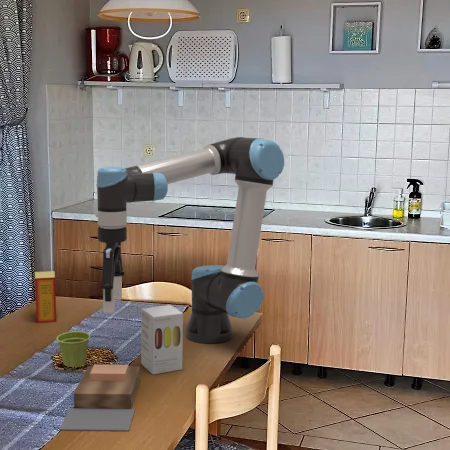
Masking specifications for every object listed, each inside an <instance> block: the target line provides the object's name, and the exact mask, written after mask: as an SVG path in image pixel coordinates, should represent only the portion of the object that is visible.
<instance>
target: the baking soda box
mask: <svg viewBox="0 0 450 450" xmlns="http://www.w3.org/2000/svg"><path fill="white" fill-rule="evenodd" d="M55 273H56V272H55V270H47V271H35V272H34V286H35V288H34V289H35V291H34V292H35V309H36V311H35V313H36V314H35V315H36V324H44V323H45V324H46V323H57V301H56V300H57V299H56V297H57V296H56V293H57V292H56V274H55Z"/></svg>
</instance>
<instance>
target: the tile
mask: <svg viewBox="0 0 450 450" xmlns="http://www.w3.org/2000/svg"><path fill="white" fill-rule="evenodd" d="M93 366H94V367H93V369H92V371H91V373H90V381H126V378H127V375H128V372H129V364H94V365H93Z"/></svg>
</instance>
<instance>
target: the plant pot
mask: <svg viewBox="0 0 450 450" xmlns="http://www.w3.org/2000/svg"><path fill="white" fill-rule="evenodd" d="M90 339H91V334H90V333H88V332H84V331H67V332H64V333H61V334H59V335H57V337H56V341H57V342H58V343H57V344H58V345H59V348H60V353H61V358H62V365H63V364H64V365H65V366H67V367H79V366H82V365H84V364H85V363H87V354H88V344H89V342H90ZM64 365H63V366H64ZM85 365H86V364H85Z"/></svg>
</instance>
